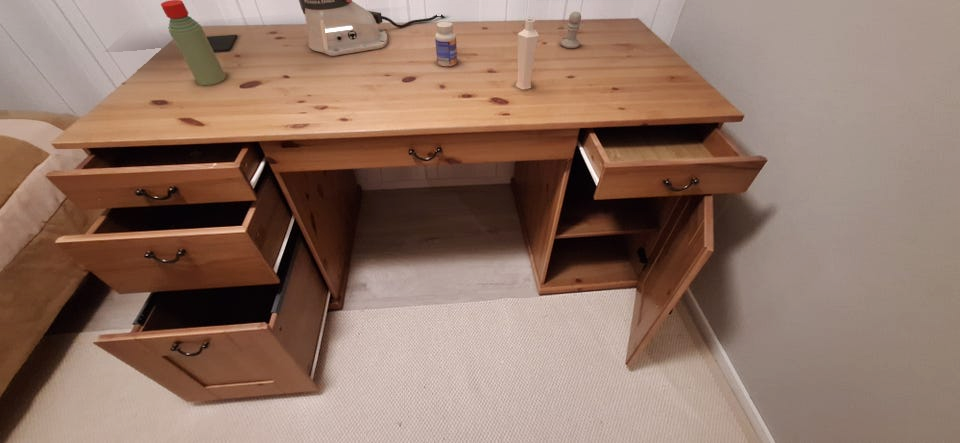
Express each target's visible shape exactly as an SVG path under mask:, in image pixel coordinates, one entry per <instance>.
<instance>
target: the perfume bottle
mask: <svg viewBox="0 0 960 443" xmlns="http://www.w3.org/2000/svg"><path fill="white" fill-rule="evenodd" d="M524 22H525V23H524V29H522V30H521V31H520V32H518V33H517V80H516V83H515V87H516V88H518V89H520V90H522V91H523V90H528V89H532V82H531V81H532V75H533V69H534V63H535V57H536V54H537V53H536V52H537V47H538V42H539V37H540V36H539V33H538V32H537V30H536V29H534V26H535V22H536V21H535V19H534V18H526V19H524Z"/></svg>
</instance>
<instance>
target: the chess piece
mask: <svg viewBox="0 0 960 443" xmlns="http://www.w3.org/2000/svg"><path fill="white" fill-rule="evenodd" d="M581 20H582V14H581V13H580V12H579V11H576V10H575V11H573V12H571V13H570V14H569V17H568V23H567V26H566V30H567V34H566V37H565V38H564V39H562V40H561V41H560V45H561V46H562V48H566V49H576V48H578V47H579V46H580V42H579V40H578V39H577V36H578V31H579V30H580V27H581V25H580V23H581Z"/></svg>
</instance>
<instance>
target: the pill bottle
mask: <svg viewBox="0 0 960 443" xmlns="http://www.w3.org/2000/svg"><path fill="white" fill-rule="evenodd" d="M436 31H437V32H436V33H435V35H434V42H435V52H436V53H435V54H436V63H437V64H438V65H439V66H441V67H453V66H455V65H457V63H458V49H457V34H456V33H455V32H454V25H453V23H452V22H451V21H440V22H437V23H436Z"/></svg>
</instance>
